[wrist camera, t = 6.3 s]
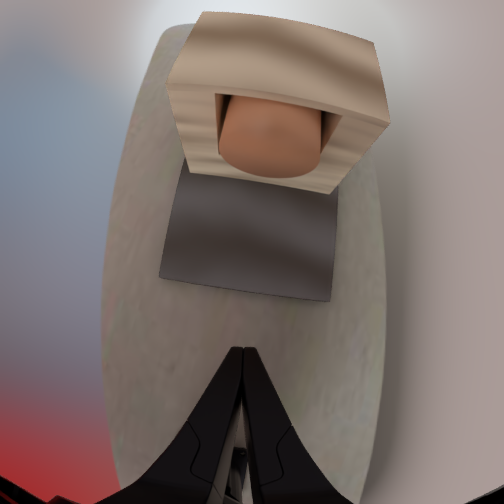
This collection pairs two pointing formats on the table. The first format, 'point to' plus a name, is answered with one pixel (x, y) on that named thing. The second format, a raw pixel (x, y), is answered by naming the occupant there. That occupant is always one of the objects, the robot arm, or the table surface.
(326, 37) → the knob mount
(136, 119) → the table surface
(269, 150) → the knob
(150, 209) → the table surface
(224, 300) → the table surface
